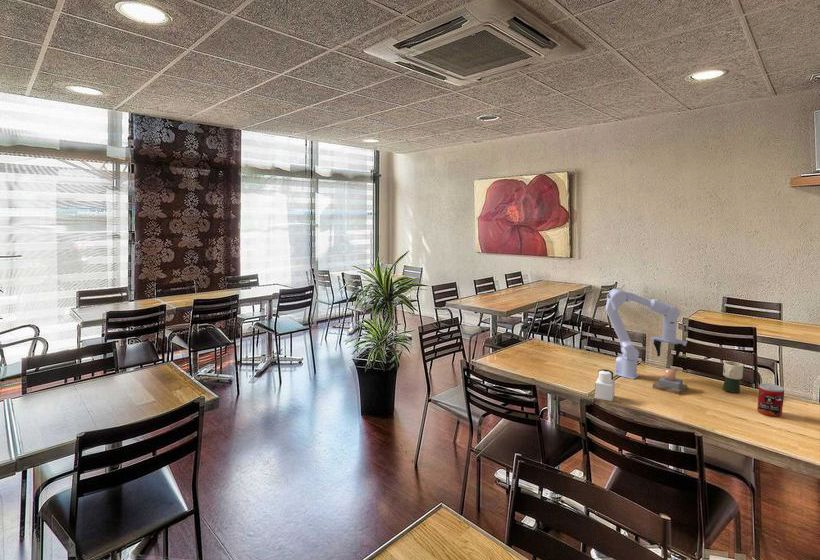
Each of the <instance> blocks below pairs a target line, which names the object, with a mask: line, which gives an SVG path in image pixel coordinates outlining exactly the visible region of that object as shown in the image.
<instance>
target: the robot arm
mask: <svg viewBox="0 0 820 560" xmlns="http://www.w3.org/2000/svg"><path fill="white" fill-rule="evenodd" d="M625 302H627V303H629V302H635V303H637V304H641V305H642V306H643V305H644V306H646V307H647V309H648V310H649V311H651V312H653V313H657V314H659V315H662V316H663V320H662V334H661V336H654V335H652V337H651V342H653V346H654V348H655V351H656V354H657V357H660V356H661V347H662V343H667V344H671V345H675V357H674V358H675V360H678V359H679V355H680V353H681V352H682V350H683V348H684V347H686V346H687V340H682V339H677V328H678V327H677V325H678V318H679V316H680V314H681V312H680V310H679V308H677V307H675V306H673V305H672V304H671V303H668V302H663V301H661V300H660V299H658V298H656V299H655V298H652V299H648V298H646V297H643V296H641V295H638V294H635V293H633V292H631V291H627V290H623V289H619V288H612V289H611V290H609V292H608V294H607V295H606V304H605V312H606V314H607V316H608V319H609V321H610V323H611V326H612V327H613V330H614V332H615V334H616V336H617V338H618V340H619V344H620V351H621V354H622V355H619V356H617V357H616V358H615V365H614V372H613V375H614V374H615V376H619V377H623V378H627V379H631V380H634V379H636V378H638V377H639V376H641V375H640V374H639V373H637V371H638V358H639V356H640V351H639V349H638V348H636V347H635V346H634V343H633V342H632V340H631V338H630V336H629V334H628V331H627V329H626V327H625V325H624V322H623V320H622V318H621V315H620V313H619V311H618V310H619V309H620V306H622V305H624V304H625Z"/></svg>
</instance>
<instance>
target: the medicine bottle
mask: <svg viewBox="0 0 820 560" xmlns="http://www.w3.org/2000/svg"><path fill="white" fill-rule="evenodd" d="M594 384H595V385H594V387H595V388H594V399H598V400H604V401H607V402H608V401H609V402H612V401H613V400H614V397H615V391H616V390H615V389H616V388H615V386H616V381H615V380H614V372H613V371H612V370H610V369H605V368H604V369H603V368H602V369H599V370H598V371H597V379H596V381H595V383H594Z"/></svg>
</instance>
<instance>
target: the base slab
mask: <svg viewBox="0 0 820 560" xmlns="http://www.w3.org/2000/svg"><path fill="white" fill-rule="evenodd" d="M688 387H689V386H688V384H684V383H683V385H682V386H681V387H680V389H679V390H678V389H673V388H669V387H664V386H660V385H659V380H658V381H656V382H655V383H653V384H652V389H654V390H658V391H662V392H666V393H670V394H673V393H674V395H677V394H678V396H680V395H681V394H682V392H683V393H684V392H686V390H688Z"/></svg>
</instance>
